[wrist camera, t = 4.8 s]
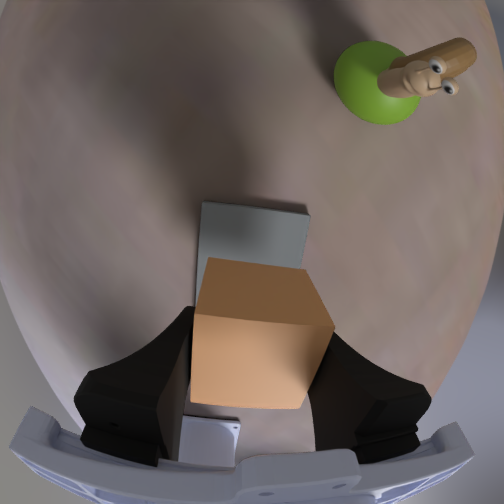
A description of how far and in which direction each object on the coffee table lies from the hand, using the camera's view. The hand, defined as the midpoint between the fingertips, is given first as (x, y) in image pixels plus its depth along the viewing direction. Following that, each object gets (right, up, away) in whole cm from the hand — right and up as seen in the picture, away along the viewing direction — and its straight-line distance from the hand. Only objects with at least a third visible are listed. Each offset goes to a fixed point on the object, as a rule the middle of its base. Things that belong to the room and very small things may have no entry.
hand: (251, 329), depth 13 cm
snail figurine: (+7, +14, +2) cm, 16 cm away
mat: (0, +3, +7) cm, 7 cm away
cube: (0, +1, +2) cm, 2 cm away
